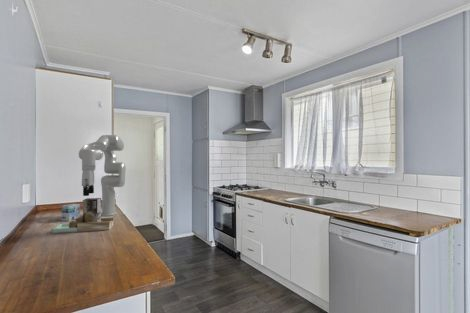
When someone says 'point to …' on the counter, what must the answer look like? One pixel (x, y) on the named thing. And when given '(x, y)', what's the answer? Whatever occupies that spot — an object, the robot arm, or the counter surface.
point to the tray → (63, 228)
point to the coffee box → (92, 210)
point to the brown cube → (79, 220)
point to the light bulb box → (70, 212)
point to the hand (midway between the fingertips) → (88, 194)
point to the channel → (96, 225)
